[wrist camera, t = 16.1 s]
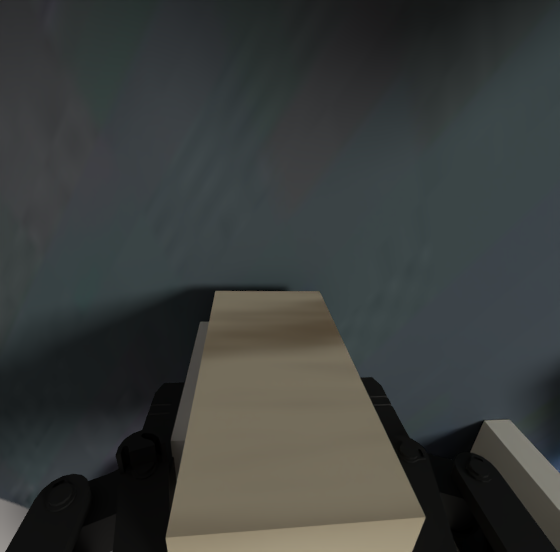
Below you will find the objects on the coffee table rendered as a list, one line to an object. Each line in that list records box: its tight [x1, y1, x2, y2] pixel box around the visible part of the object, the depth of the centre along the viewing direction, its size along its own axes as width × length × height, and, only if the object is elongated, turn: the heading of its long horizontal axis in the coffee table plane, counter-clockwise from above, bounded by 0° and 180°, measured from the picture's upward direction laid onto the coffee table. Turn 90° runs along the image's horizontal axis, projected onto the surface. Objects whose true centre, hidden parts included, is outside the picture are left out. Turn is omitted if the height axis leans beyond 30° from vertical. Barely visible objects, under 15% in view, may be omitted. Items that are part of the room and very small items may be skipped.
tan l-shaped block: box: [166, 291, 426, 552], centre depth 15 cm, size 21×5×10 cm, turn 177°
